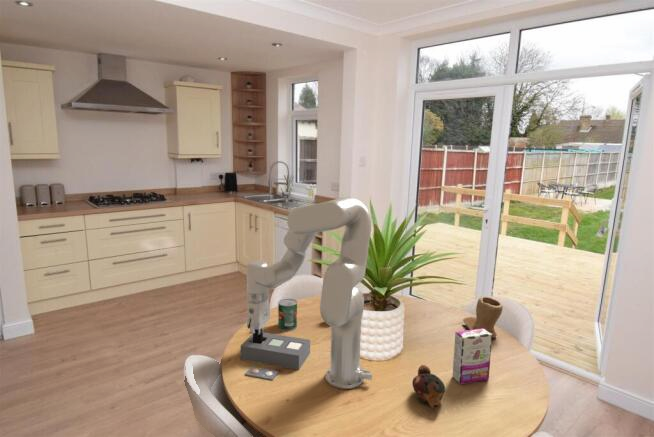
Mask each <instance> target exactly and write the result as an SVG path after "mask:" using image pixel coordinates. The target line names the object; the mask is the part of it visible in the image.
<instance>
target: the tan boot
mask: <svg viewBox="0 0 654 437" xmlns="http://www.w3.org/2000/svg"><path fill="white" fill-rule="evenodd" d="M475 307H476V308H475V313H476V314H475V315H476V316H475V317H473V316H469V317H464V318H463V322H464V324H465V325H466V327H467V328H468V329H469V330H475V329H482V328H484V329H486V330H487V331H488V332H490V333H491V334H492V339H493V338H496V337H497V336H498V334H497V331H496V330H495V325H496V323H497V321H498V320H499V319H500V316H501V315H502V313H503V304H502V302H501V301H499V300H498V299H495V298H492V297H489V296H480V297H479V298H478V300H477V303H476V306H475Z"/></svg>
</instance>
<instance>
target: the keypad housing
mask: <svg viewBox="0 0 654 437" xmlns="http://www.w3.org/2000/svg"><path fill="white" fill-rule="evenodd" d="M262 333H263V341H264V342H263V343H262V344H258V343H253V334H251V335H250V336H249V337H248V338H247V339H246V340H245V341H244V342H242V344H240V360H242V361H247V362H253V363H258V364H264V365H270V366H275V367H281V368H285V369H286V368H287V369H292V370H296V371H300V370H301V368H302V366H303V364H304V363H305V361H306V360H307V359H308V357H309V355H310V354H311V339H309V338H308V339H307V338H301V337H295V336H289V335H288V336H287V335H282V334H275V333H269V332H264V331H263V332H262ZM272 339H276V340H282V341H284V343H283V344H282V345H281V347H276V346H270V345H268V344H269V343H270V342H271V341H272ZM290 342H294V343H300V344H302V346H301V348H300V349H299V350H294V349H288V348H286V347H287V346H288V345H289V343H290Z"/></svg>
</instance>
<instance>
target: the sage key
mask: <svg viewBox="0 0 654 437" xmlns="http://www.w3.org/2000/svg"><path fill="white" fill-rule="evenodd" d="M283 343H284V341H282V340H276V339H272V341H271V342H270V343H269V344H268V345H270V346H276V347H281V345H282V344H283Z"/></svg>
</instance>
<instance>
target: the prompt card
mask: <svg viewBox="0 0 654 437" xmlns="http://www.w3.org/2000/svg"><path fill="white" fill-rule="evenodd" d="M279 373H280V372H279V370H275V369H274V370H273V369H268V368H263V367H257V366H250V367H249V369H248V370H247V371H246V372H245V373H244V376H247V377H253V378H259V379H263V380H268V381H273V380H274V379H275V378H276V376H278V374H279Z"/></svg>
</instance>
